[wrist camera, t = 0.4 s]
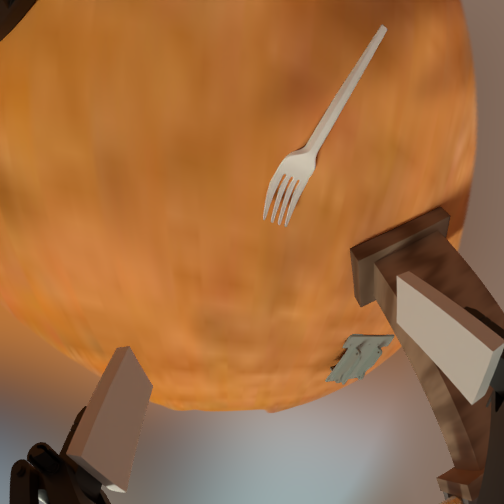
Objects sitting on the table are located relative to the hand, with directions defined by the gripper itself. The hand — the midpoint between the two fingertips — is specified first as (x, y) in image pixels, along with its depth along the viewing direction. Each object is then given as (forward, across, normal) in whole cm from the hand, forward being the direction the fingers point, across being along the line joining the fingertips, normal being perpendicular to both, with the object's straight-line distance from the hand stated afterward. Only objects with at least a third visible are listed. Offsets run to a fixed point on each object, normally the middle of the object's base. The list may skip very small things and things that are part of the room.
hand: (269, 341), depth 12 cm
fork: (+11, +9, +10) cm, 17 cm away
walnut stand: (+19, +19, -7) cm, 28 cm away
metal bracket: (+32, +15, -32) cm, 47 cm away
